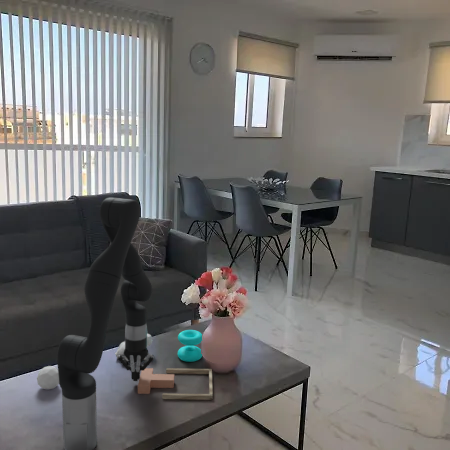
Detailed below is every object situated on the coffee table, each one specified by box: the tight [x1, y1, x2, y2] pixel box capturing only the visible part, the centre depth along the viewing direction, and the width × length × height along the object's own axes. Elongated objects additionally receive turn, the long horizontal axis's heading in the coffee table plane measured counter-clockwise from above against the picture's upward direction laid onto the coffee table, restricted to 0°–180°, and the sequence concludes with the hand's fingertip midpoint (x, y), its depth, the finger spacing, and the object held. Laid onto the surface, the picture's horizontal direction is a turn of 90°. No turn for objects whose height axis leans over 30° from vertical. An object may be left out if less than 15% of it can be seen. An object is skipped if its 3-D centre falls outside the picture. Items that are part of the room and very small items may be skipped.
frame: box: [161, 367, 214, 401], centre depth 174 cm, size 18×17×2 cm
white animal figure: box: [114, 333, 153, 362], centre depth 192 cm, size 9×8×15 cm
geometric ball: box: [36, 365, 60, 391], centre depth 168 cm, size 8×8×8 cm
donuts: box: [177, 329, 203, 363], centre depth 193 cm, size 10×10×10 cm
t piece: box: [137, 367, 175, 395], centre depth 173 cm, size 12×12×3 cm
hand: (135, 379), depth 173 cm, fingers closed
